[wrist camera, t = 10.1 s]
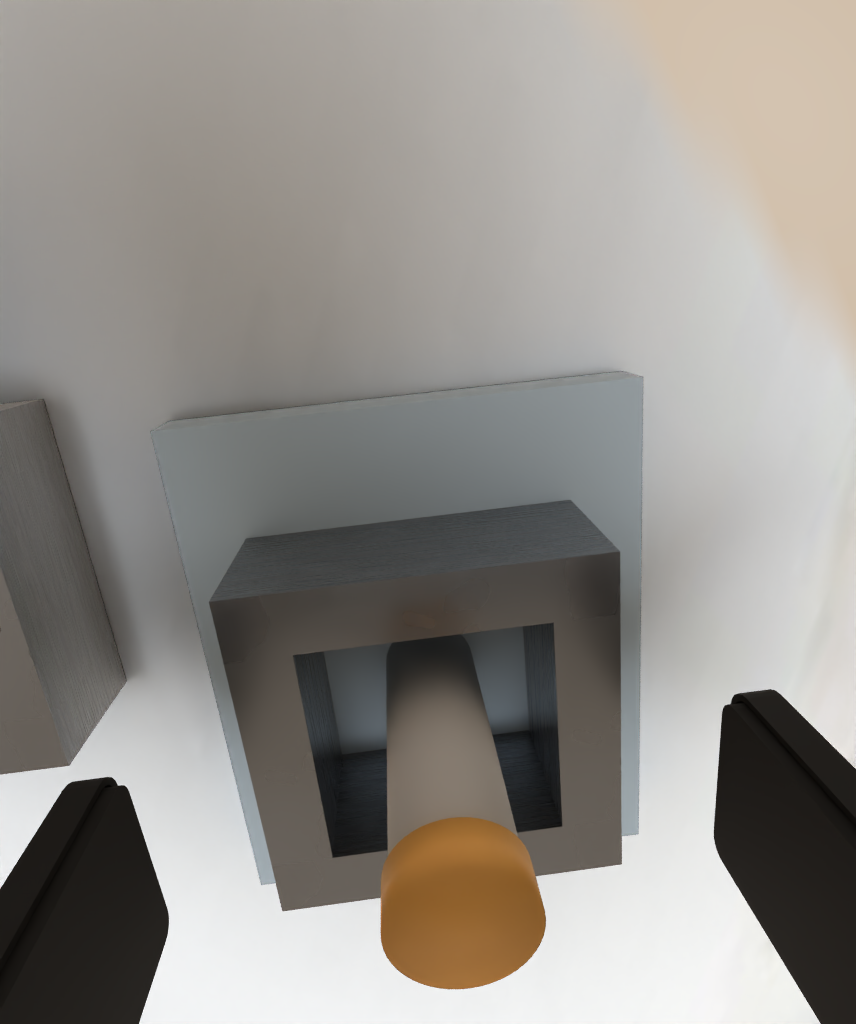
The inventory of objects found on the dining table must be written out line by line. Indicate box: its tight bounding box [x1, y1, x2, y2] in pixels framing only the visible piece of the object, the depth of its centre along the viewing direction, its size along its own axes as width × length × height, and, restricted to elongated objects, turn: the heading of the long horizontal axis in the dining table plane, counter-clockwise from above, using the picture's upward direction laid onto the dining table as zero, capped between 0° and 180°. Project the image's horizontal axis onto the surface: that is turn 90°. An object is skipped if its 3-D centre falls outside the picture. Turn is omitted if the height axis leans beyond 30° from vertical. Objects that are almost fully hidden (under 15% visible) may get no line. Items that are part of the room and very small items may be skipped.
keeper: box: [150, 371, 643, 989], centre depth 12 cm, size 12×10×8 cm
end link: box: [209, 500, 622, 911], centre depth 13 cm, size 7×7×3 cm
